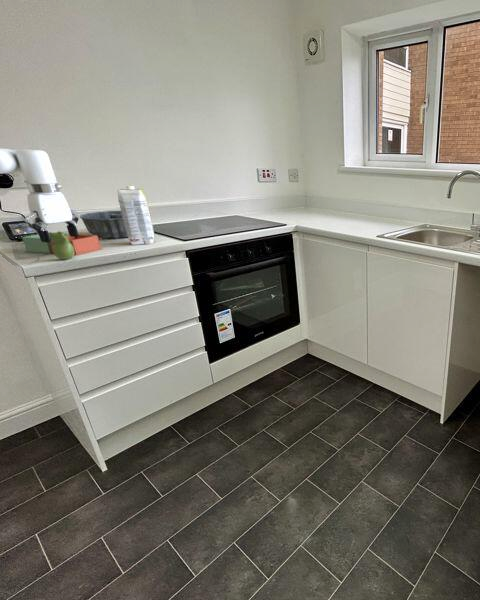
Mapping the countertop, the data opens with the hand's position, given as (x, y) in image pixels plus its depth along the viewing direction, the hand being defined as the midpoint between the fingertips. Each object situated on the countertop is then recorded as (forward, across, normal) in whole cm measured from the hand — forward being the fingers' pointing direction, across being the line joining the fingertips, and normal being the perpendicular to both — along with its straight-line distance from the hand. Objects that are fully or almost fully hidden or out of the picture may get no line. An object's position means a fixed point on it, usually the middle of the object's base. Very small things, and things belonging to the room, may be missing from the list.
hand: (61, 239), depth 125 cm
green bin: (+7, -11, -19) cm, 23 cm away
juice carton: (+8, -30, +4) cm, 31 cm away
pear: (+8, 0, 0) cm, 8 cm away
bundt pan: (+8, -42, -18) cm, 46 cm away
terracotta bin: (+7, -11, -8) cm, 15 cm away
